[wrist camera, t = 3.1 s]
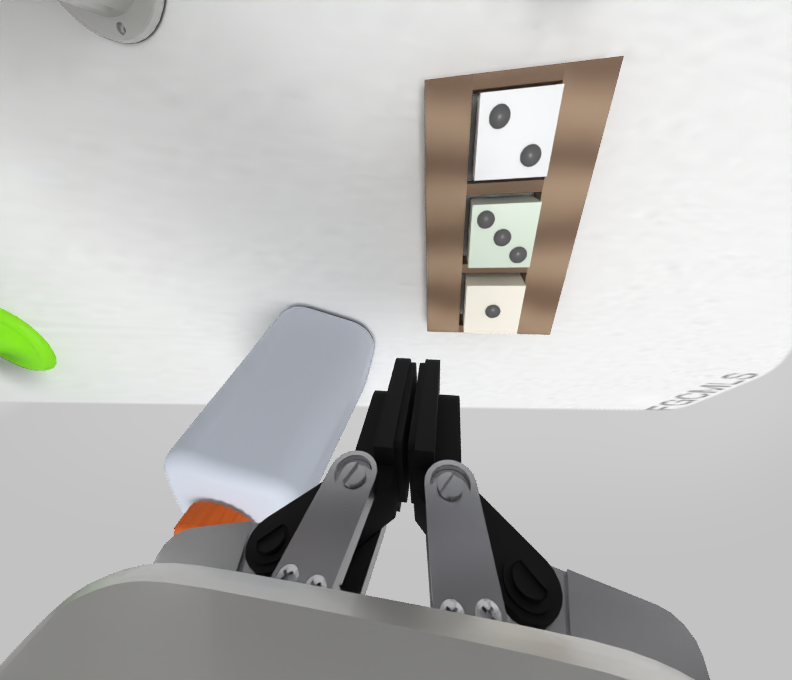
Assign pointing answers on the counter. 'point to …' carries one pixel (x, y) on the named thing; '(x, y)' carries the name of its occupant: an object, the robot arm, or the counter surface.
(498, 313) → the one dot tile
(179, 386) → the counter surface
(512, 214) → the three dot tile
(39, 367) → the wineglass
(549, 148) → the two dot tile
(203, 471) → the plastic bottle
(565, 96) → the wooden tile tray
